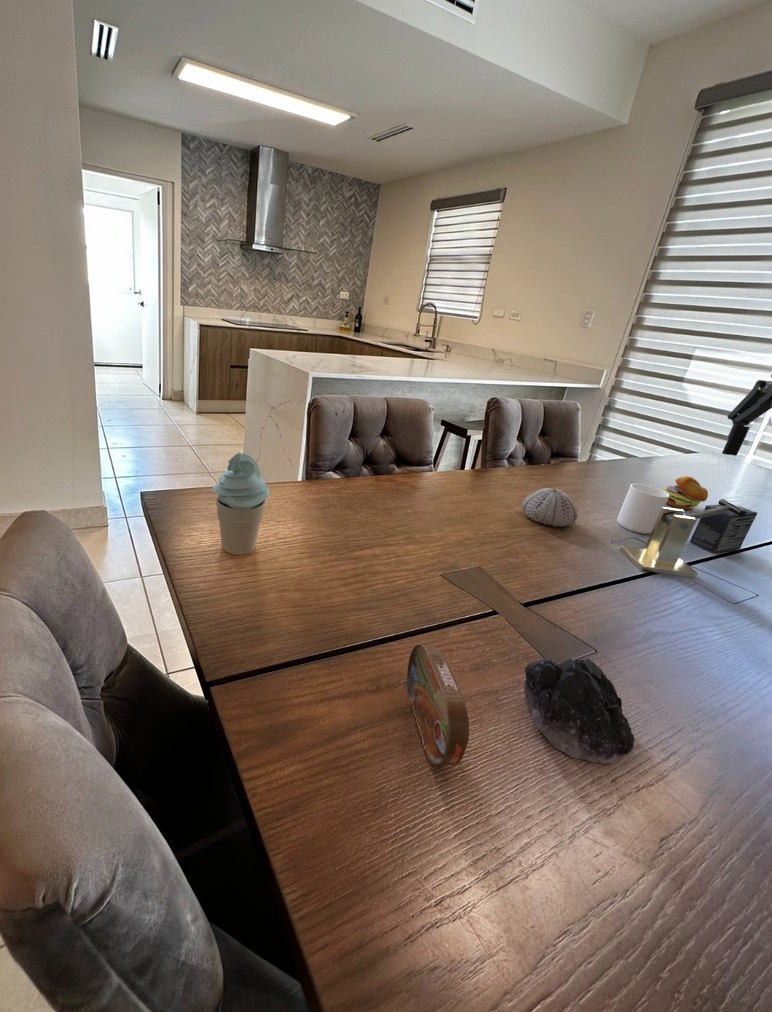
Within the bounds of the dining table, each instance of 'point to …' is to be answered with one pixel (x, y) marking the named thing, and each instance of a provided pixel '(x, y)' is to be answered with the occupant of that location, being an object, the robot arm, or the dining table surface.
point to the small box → (722, 530)
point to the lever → (711, 511)
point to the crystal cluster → (578, 709)
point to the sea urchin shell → (550, 507)
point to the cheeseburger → (686, 493)
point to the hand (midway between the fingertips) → (753, 464)
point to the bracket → (665, 546)
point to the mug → (642, 508)
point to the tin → (437, 705)
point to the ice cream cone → (240, 504)
